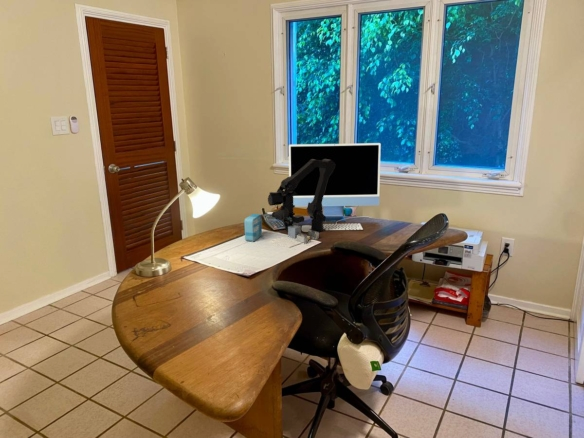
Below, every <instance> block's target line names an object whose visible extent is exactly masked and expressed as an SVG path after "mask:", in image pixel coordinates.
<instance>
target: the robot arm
mask: <svg viewBox="0 0 584 438" xmlns="http://www.w3.org/2000/svg"><path fill="white" fill-rule="evenodd" d="M316 168H319V169H318V170H319V177H318V181H317V185H316V188H315V192H314V195H313V199H312V200H311V202H308V203H307V207H306V213H307V214H308V216H309V218H310V219H311V228H310V229H309V231H310V230H313V231H317V232H319V233H321V232H324V231H326V228H324V222H325V221H326V220H327V217H326V215H325V214H323V200H324V196H325V192H326V189H327V186H328V185H327V184H328V182H329V178H330V176H331V175H332V174H333V172H334V170H335V168H336V163H335V161H334V160H332V159H327V158H323V159H314V158H311V159H309V160H308V162H307V163H305V164H304V165H303V166H302V167H301V168H300V169H298V170H297V171H296V172H295V173H294V174H292V175H290V176H288V177H286V178H284V179H283V180H281V182H280V186H279V187H278V189H277V190H276V191H275V192H272V191H270V192H269V195H268V197H267V202H268V205H269V206H271V207H273V206H280V209H278V210H276V211H272V214H271V217H272V218H274V219H275V220H278V221H281V222H282V223H283V225H284V229H285V231H286V232H287V233H288V226H292V225H294V224H300V223H303V222H305V216H303V215H301V214H297V215H295V214H296V212H294V208H296V205H295V204H294V196H298V193H297V192H296V191H295V189H296V188H297V186H298V185H299V183H300V182H301V181H302V180H303V179H304V178H305V177H307V175H309V174H310V173H311V172H313V170H314V169H316Z"/></svg>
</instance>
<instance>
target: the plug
mask: <svg viewBox="0 0 584 438" xmlns="http://www.w3.org/2000/svg"><path fill="white" fill-rule="evenodd" d="M299 234H302V235H306V236H308V234H306V233H302V226H300V225H296V224H293V225H292V226H288V232H287V237H289V238H290V239H291V238H292V239H297V235H299ZM310 239H311V238H310V236H308V241H309V240H310Z"/></svg>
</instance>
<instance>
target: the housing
mask: <svg viewBox="0 0 584 438" xmlns="http://www.w3.org/2000/svg"><path fill="white" fill-rule="evenodd" d="M306 235H308V236H310V239H312V240H318V239H319V237H320V236H319V235H320V232H317V231H313V230H310V229H309V230H308V234H306ZM306 235H302V234H299V235H297V238H296V241H298V242H302V243H301V244H303V243H304V244H303V245H305V244H308V242H309V240H308V236H306Z"/></svg>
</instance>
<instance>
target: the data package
mask: <svg viewBox="0 0 584 438" xmlns="http://www.w3.org/2000/svg"><path fill="white" fill-rule="evenodd" d="M262 226H263V225H262V215H261V214H260V213H258V214H257V213H252V214H250V215H249V216H247V217H245V218H244V239H245V242H256V241H257V240H258V239H259V238H261V236H262V234H263V232H262V228H263V227H262Z"/></svg>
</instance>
